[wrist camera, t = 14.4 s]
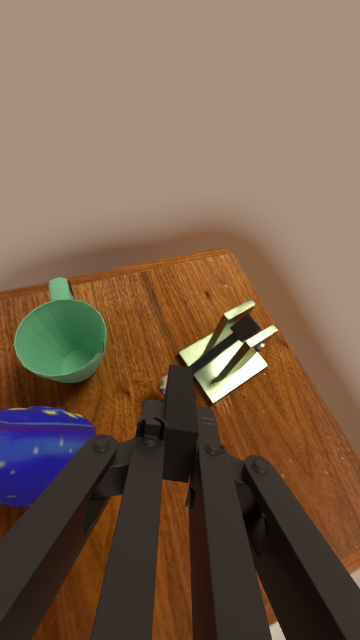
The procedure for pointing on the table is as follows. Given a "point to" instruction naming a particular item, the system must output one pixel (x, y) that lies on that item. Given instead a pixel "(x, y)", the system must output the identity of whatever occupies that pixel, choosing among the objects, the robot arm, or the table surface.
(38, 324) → the mug
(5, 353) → the table surface
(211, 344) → the bracket
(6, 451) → the ornament
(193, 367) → the lever
